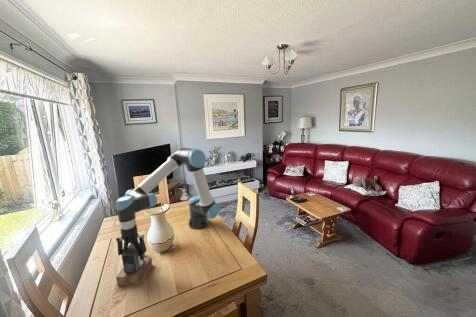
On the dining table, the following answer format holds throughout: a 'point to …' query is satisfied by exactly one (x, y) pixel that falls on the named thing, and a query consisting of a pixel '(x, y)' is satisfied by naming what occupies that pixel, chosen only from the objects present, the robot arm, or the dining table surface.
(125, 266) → the small box
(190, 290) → the dining table surface
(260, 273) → the dining table surface
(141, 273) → the walnut base
